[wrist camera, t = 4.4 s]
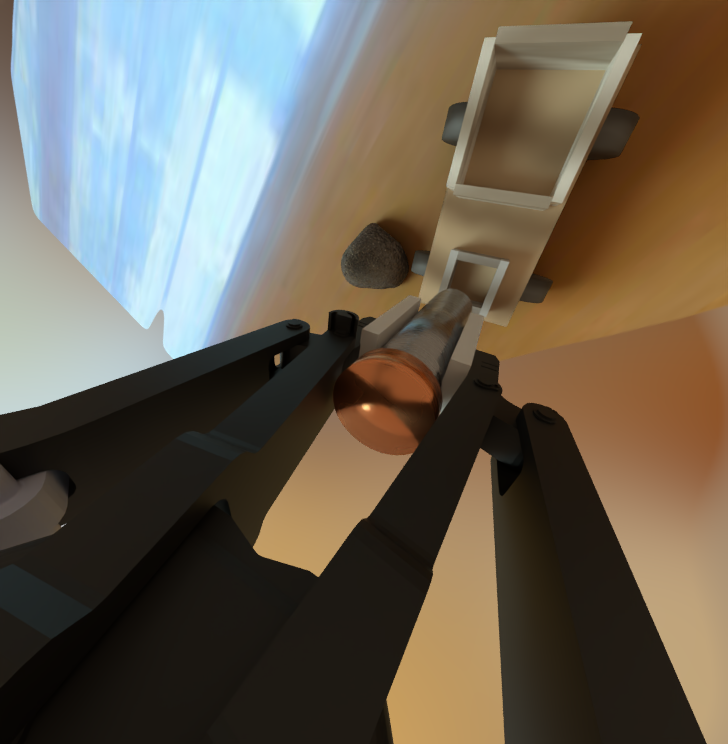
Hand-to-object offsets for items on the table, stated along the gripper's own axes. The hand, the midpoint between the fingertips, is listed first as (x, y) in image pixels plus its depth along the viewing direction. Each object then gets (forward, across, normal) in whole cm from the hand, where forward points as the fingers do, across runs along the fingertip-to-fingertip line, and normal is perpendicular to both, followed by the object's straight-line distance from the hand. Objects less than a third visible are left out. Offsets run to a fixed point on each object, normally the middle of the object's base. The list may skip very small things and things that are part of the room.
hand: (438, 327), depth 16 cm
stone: (+26, -15, -2) cm, 30 cm away
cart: (+26, 0, +7) cm, 27 cm away
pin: (+4, 0, 0) cm, 4 cm away
